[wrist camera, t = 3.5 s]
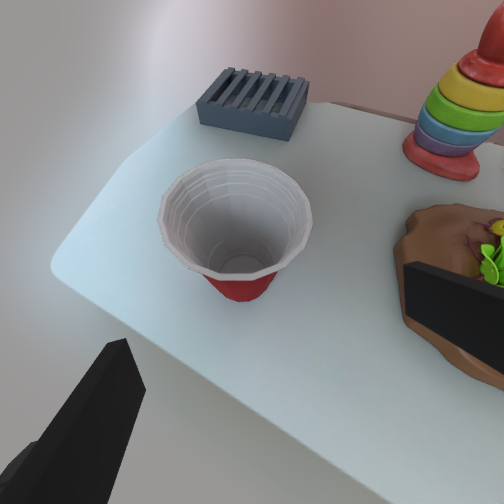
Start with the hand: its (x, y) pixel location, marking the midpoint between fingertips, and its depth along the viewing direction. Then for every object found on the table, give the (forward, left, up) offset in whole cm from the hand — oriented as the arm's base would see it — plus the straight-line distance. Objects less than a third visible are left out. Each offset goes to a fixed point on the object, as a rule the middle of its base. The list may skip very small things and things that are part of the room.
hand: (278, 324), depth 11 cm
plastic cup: (-5, +7, -14) cm, 16 cm away
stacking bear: (+15, +36, -13) cm, 41 cm away
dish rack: (-15, +38, -13) cm, 43 cm away
